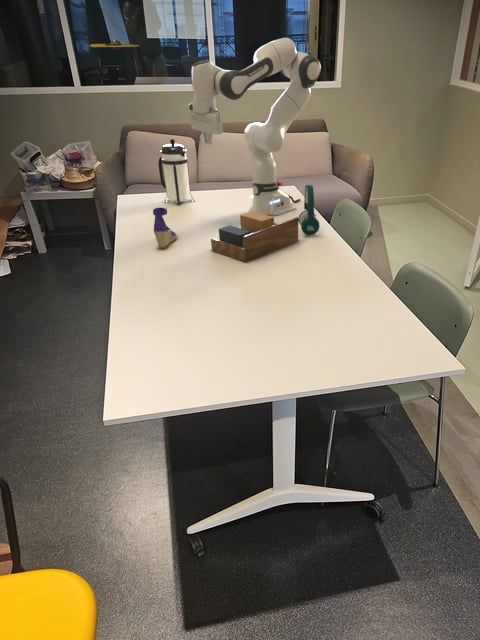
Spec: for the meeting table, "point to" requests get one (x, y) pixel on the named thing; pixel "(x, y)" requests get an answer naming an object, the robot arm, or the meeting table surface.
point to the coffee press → (175, 172)
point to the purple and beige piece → (162, 229)
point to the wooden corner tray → (260, 241)
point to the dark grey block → (233, 235)
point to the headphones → (309, 213)
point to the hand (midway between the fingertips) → (208, 143)
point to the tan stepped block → (255, 221)
